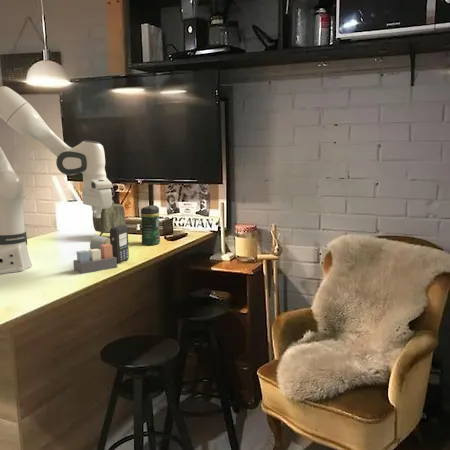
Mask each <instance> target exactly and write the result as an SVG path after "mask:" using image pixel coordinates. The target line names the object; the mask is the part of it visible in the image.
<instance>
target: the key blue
mask: <svg viewBox="0 0 450 450" xmlns="http://www.w3.org/2000/svg"><path fill="white" fill-rule="evenodd" d="M76 260H77V262H80V263H82V262H88V261H89V250H88V251H87V250H77V251H76Z"/></svg>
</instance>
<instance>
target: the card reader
mask: <svg viewBox="0 0 450 450" xmlns="http://www.w3.org/2000/svg"><path fill="white" fill-rule="evenodd" d="M128 230H129V229H128V226H127V225H126V224H125V225H119V226H116V227H113V228H111V229H110V233H109V238H110V244H111V245H112V252H113V257H116V258H117V265H118V264H122V263H123V262H124V263H125V261H128V260H129V258H130V253H129V233H128V232H129V231H128Z"/></svg>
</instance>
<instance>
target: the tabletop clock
mask: <svg viewBox="0 0 450 450" xmlns="http://www.w3.org/2000/svg"><path fill="white" fill-rule="evenodd" d="M111 193H113V194H112V198H113V197H114V196H115V191H114V190H112V189H111ZM92 224H93V228H94V231H95V232H99V233H100V234H99V236H101V237H102V235H103V234H110V229H111V228H113V227H116V226H119V225H126V211H125V208H124V206H123V204H119V203H115V202H114V200H113V199H112V205H111V208H106V209H102V211H101V218H95V217H94V213H93V212H92Z"/></svg>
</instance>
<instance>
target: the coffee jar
mask: <svg viewBox="0 0 450 450" xmlns="http://www.w3.org/2000/svg"><path fill="white" fill-rule="evenodd" d="M140 219H141V244H142V245H145V246H152V245H153V246H155V245H158V244H159V243H161V234H160V208H159V207H158V206H157V205H154V204H153V205H152V204H149V205H148V206H144V207H142V208H141V209H140Z"/></svg>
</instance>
